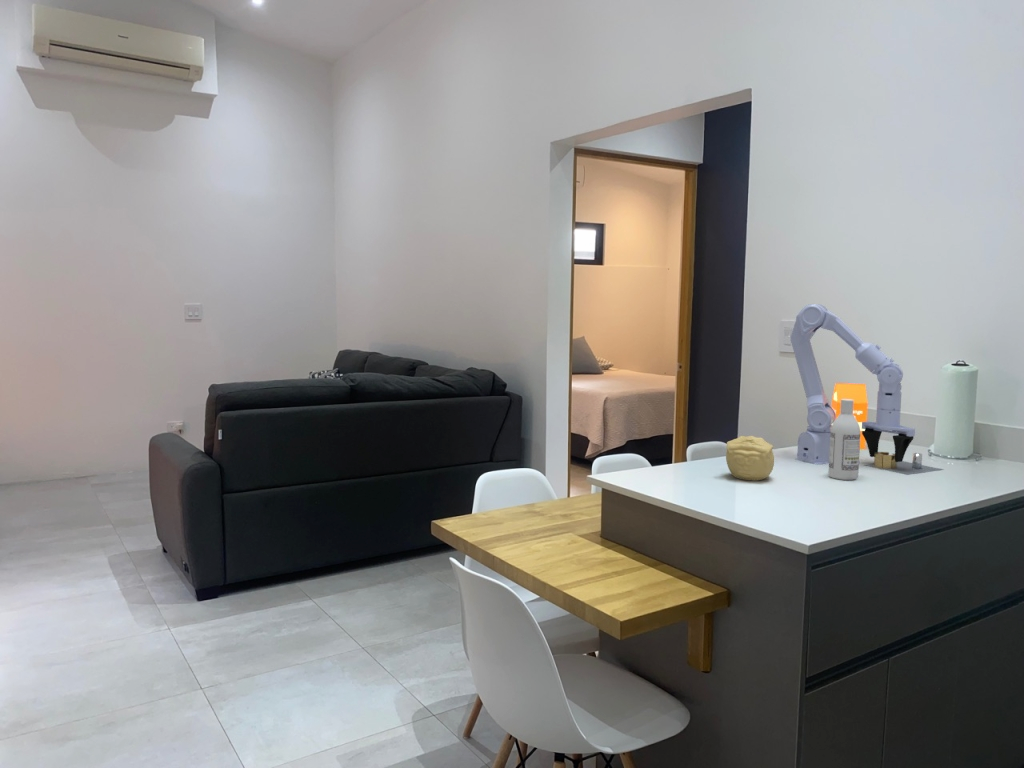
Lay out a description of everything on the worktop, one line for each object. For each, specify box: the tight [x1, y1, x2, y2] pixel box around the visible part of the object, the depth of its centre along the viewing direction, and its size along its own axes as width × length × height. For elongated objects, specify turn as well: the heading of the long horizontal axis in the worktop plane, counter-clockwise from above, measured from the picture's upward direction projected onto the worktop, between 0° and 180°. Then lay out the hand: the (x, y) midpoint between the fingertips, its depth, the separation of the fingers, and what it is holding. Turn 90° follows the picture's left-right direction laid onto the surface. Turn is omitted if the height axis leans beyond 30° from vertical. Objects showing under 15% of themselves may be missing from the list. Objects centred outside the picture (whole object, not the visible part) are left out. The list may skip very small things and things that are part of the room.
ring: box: [873, 451, 897, 469], centre depth 202 cm, size 5×5×4 cm
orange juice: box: [831, 382, 869, 450], centre depth 232 cm, size 8×9×20 cm
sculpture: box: [725, 435, 775, 481], centre depth 189 cm, size 12×12×11 cm
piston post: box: [911, 452, 923, 469], centre depth 200 cm, size 2×2×4 cm
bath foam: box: [828, 399, 861, 481], centre depth 190 cm, size 7×7×20 cm
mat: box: [863, 460, 945, 476], centre depth 202 cm, size 15×13×1 cm
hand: (885, 459), depth 202 cm, fingers open, 7 cm apart
